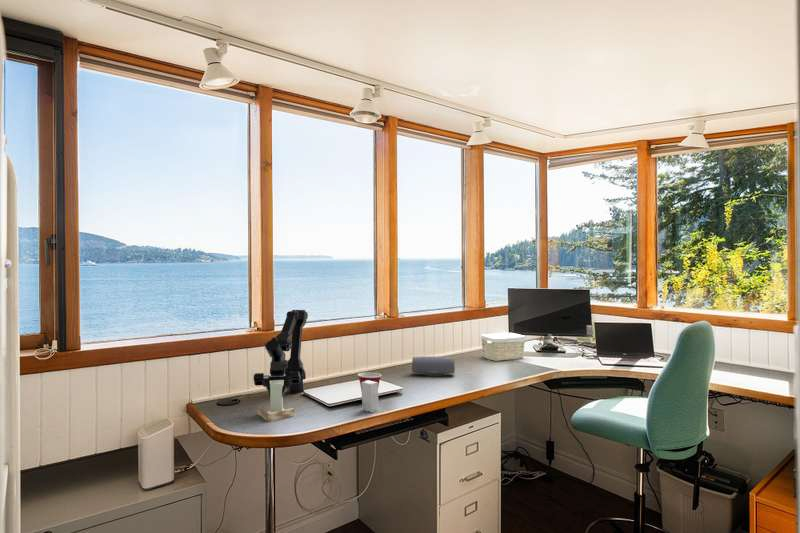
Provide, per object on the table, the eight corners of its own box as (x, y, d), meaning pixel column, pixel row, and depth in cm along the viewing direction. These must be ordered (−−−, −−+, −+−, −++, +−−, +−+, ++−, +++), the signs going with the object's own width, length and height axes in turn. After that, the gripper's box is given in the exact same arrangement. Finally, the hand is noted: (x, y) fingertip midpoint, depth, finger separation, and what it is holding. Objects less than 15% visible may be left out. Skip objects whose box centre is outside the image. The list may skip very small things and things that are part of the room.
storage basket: (511, 354, 318) (511, 331, 318) (526, 358, 303) (526, 335, 303) (479, 357, 309) (479, 334, 309) (494, 362, 294) (494, 338, 294)
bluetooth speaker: (454, 373, 267) (454, 355, 267) (454, 377, 258) (454, 358, 258) (413, 372, 270) (413, 354, 269) (412, 376, 260) (411, 358, 260)
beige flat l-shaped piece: (283, 409, 206) (283, 402, 206) (294, 415, 197) (294, 408, 197) (257, 414, 200) (257, 407, 199) (268, 421, 191) (268, 414, 191)
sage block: (282, 409, 202) (282, 381, 202) (282, 413, 197) (281, 383, 197) (271, 410, 201) (271, 381, 201) (270, 413, 197) (270, 384, 196)
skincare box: (379, 410, 203) (378, 382, 203) (371, 413, 200) (371, 384, 200) (369, 407, 208) (368, 379, 207) (361, 410, 204) (361, 381, 204)
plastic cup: (386, 398, 220) (386, 372, 220) (373, 405, 211) (373, 377, 210) (366, 395, 226) (366, 369, 225) (353, 401, 216) (352, 374, 216)
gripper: (253, 354, 201) (250, 387, 190) (299, 352, 204) (298, 385, 193) (256, 368, 209) (253, 401, 198) (300, 366, 212) (299, 399, 201)
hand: (276, 396), depth 198 cm, fingers closed on sage block, 4 cm apart
